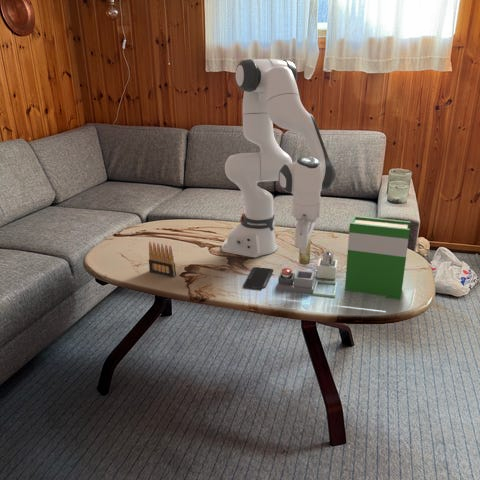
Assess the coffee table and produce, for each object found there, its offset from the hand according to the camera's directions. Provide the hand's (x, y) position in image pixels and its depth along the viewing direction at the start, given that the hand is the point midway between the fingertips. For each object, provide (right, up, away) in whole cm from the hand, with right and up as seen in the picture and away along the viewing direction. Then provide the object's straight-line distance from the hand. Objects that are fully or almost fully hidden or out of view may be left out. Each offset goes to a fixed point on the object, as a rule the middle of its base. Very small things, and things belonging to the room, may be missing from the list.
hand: (304, 249), depth 150 cm
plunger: (-5, -10, +6) cm, 13 cm away
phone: (-15, -11, +12) cm, 22 cm away
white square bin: (+10, -9, +13) cm, 19 cm away
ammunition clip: (-49, -9, +18) cm, 53 cm away
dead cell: (+10, -9, +13) cm, 19 cm away
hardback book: (+23, -14, +3) cm, 27 cm away
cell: (0, -4, +2) cm, 5 cm away
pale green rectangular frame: (+7, -14, +3) cm, 16 cm away
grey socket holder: (-2, -13, +6) cm, 14 cm away
